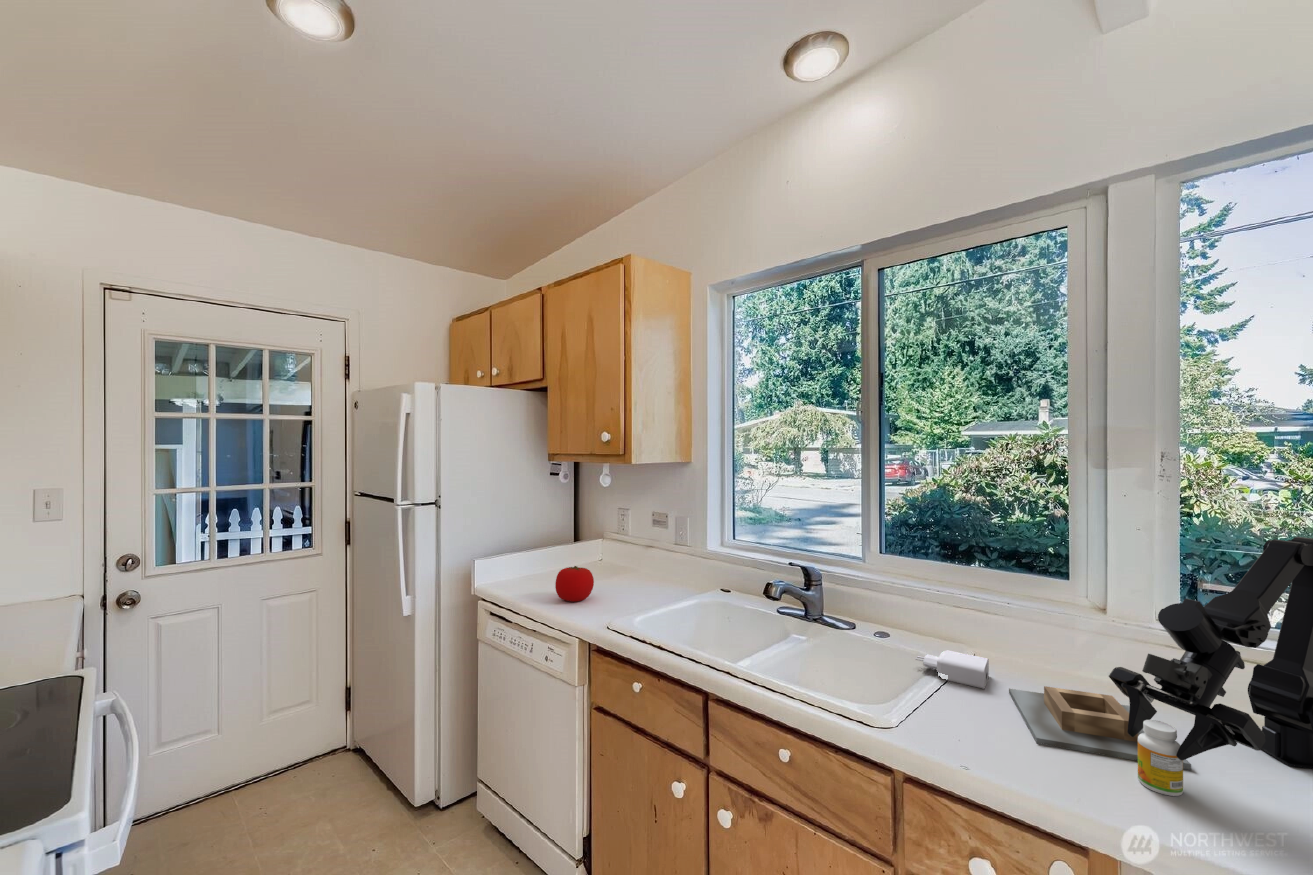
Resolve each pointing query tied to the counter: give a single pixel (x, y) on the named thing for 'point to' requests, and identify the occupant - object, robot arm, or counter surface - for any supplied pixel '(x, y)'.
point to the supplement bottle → (1160, 758)
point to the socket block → (1079, 721)
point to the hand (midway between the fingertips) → (1153, 746)
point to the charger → (960, 667)
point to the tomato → (574, 583)
